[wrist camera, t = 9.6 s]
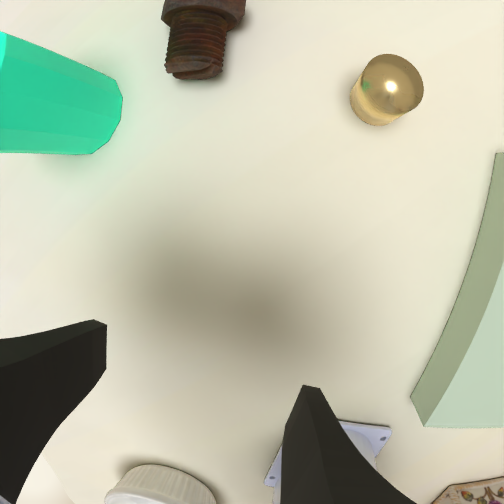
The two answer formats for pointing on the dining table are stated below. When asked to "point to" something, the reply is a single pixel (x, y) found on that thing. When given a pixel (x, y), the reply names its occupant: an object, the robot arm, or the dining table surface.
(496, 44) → the dining table surface
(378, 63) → the short pin
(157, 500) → the ramekin
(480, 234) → the collar plate
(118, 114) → the candle
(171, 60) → the bolt
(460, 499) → the decorative jar
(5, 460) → the robot arm
